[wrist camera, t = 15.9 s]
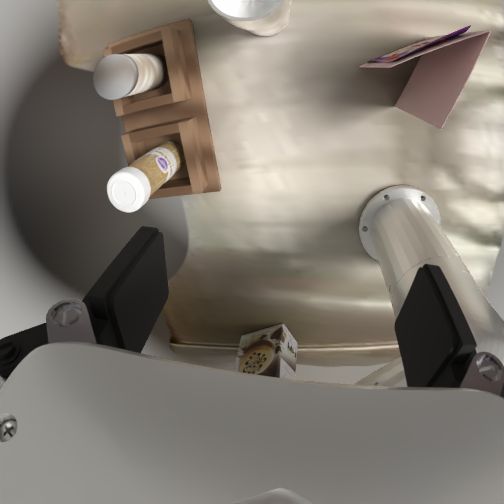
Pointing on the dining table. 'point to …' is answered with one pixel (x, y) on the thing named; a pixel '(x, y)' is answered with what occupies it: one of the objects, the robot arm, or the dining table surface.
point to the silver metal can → (254, 14)
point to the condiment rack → (161, 102)
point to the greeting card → (436, 72)
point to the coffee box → (268, 353)
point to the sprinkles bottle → (144, 176)
